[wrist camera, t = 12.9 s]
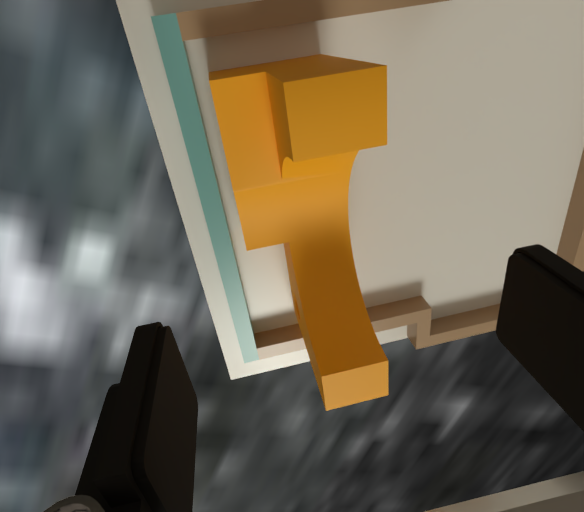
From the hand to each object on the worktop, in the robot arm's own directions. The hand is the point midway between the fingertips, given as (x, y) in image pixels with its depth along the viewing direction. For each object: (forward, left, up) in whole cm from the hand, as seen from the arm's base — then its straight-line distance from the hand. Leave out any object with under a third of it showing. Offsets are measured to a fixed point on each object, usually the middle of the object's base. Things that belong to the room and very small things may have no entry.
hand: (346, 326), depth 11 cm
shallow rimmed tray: (-6, 0, -9) cm, 11 cm away
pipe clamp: (0, 0, -9) cm, 9 cm away
